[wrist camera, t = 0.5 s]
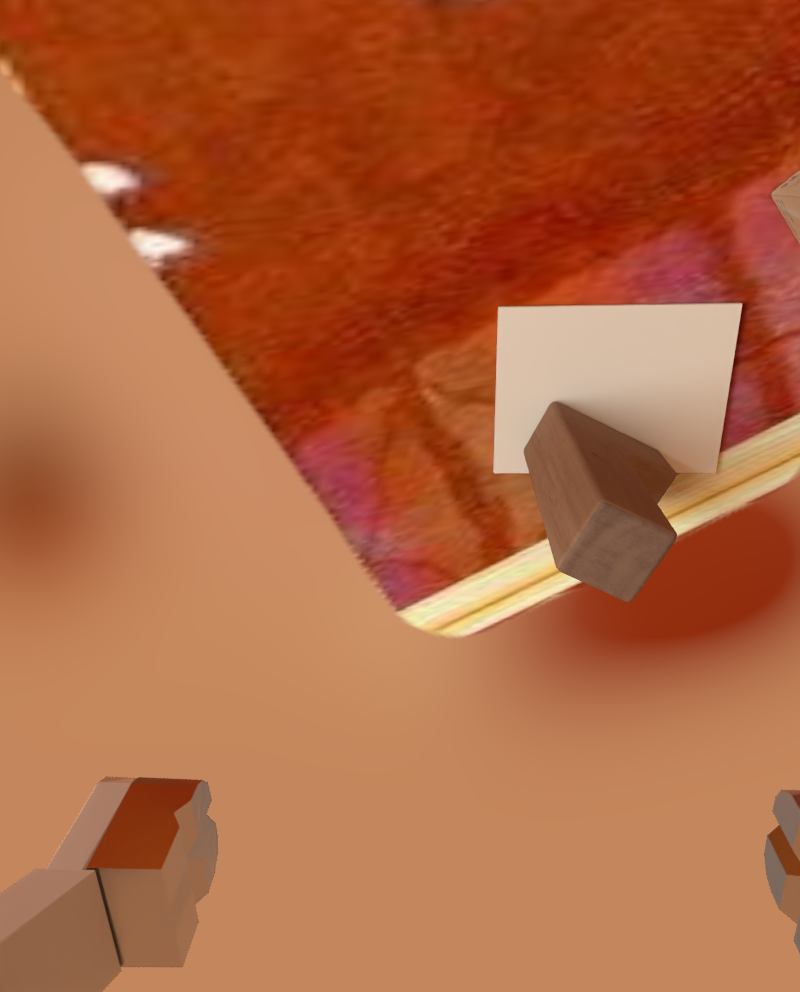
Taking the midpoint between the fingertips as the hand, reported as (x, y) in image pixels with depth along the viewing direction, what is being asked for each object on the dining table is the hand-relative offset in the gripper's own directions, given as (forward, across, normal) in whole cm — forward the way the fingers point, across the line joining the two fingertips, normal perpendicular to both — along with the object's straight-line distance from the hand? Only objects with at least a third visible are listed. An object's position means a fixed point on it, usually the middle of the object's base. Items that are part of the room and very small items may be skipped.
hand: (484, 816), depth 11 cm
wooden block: (+43, -10, +9) cm, 45 cm away
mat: (+43, -11, +5) cm, 45 cm away
